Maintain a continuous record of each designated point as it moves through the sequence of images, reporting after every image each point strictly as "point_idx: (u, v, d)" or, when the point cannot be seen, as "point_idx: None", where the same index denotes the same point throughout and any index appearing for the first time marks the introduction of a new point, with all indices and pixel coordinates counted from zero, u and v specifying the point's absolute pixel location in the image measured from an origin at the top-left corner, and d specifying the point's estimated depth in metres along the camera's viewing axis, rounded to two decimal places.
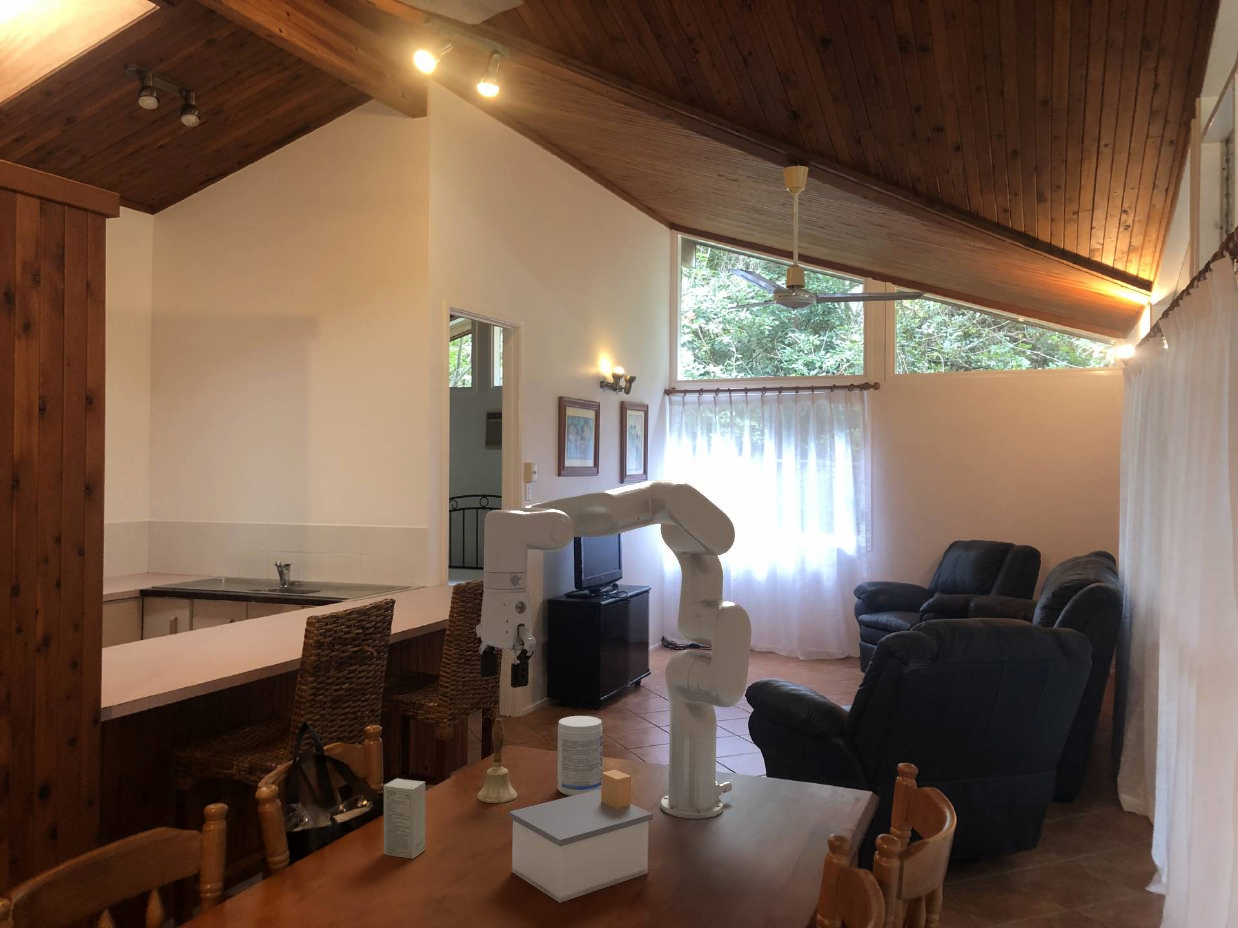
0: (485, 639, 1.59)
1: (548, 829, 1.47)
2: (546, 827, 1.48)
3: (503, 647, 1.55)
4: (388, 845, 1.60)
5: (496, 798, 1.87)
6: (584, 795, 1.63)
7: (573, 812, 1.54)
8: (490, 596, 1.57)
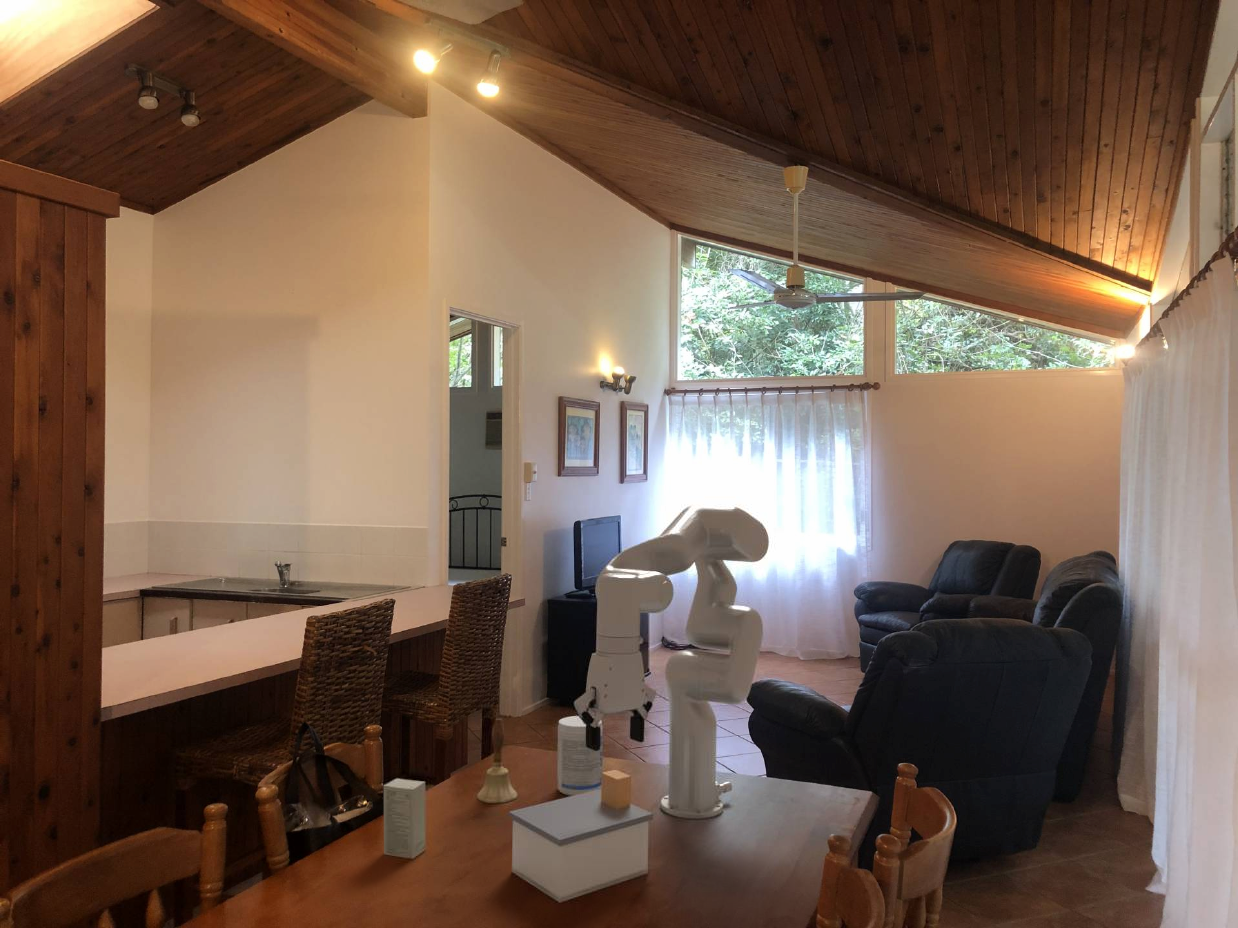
0: (610, 708, 1.56)
1: (548, 829, 1.47)
2: (546, 827, 1.48)
3: (635, 707, 1.59)
4: (388, 845, 1.60)
5: (496, 798, 1.87)
6: (584, 795, 1.63)
7: (573, 812, 1.54)
8: (623, 662, 1.57)
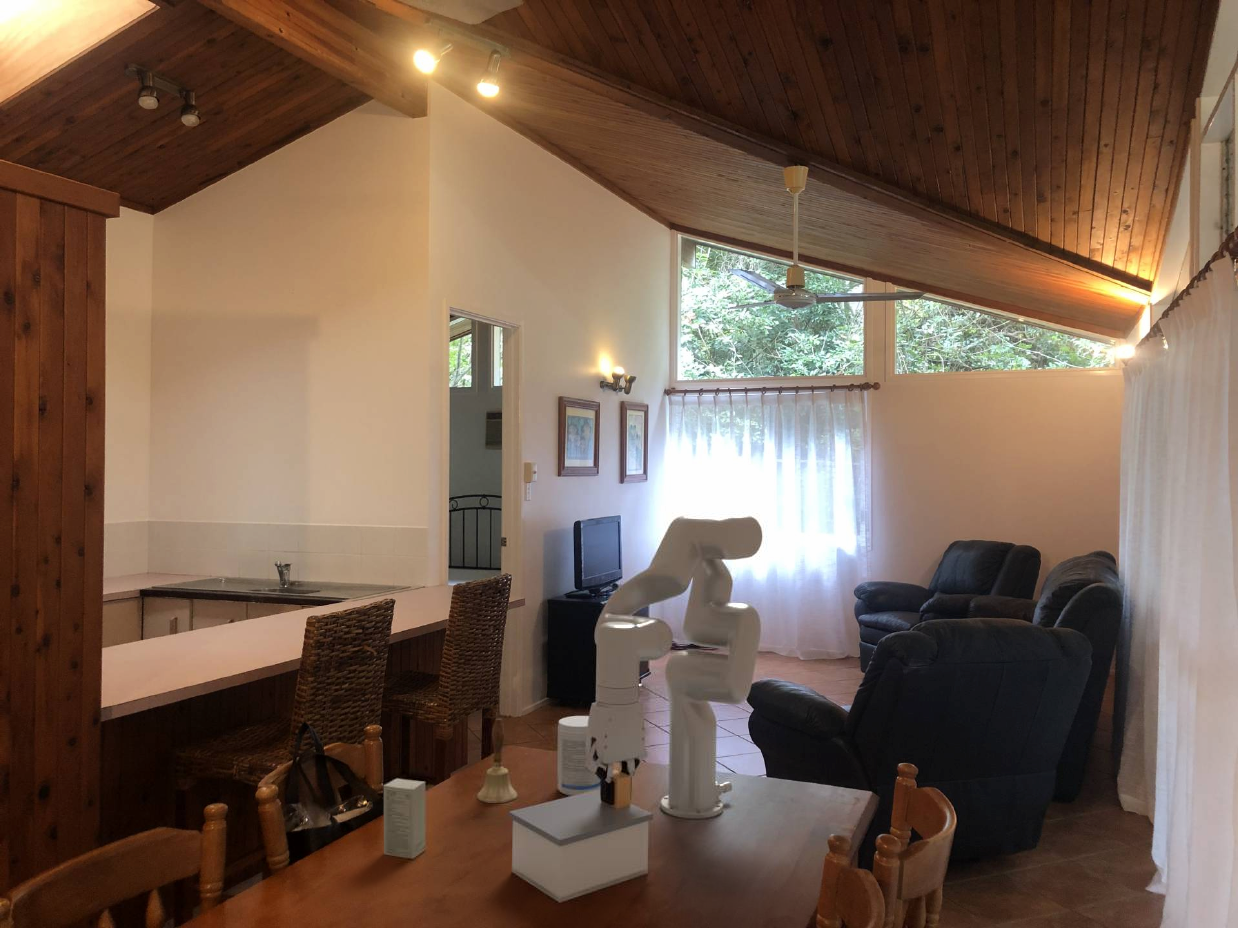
0: (611, 758, 1.56)
1: (548, 829, 1.47)
2: (546, 827, 1.48)
3: (635, 756, 1.59)
4: (388, 845, 1.60)
5: (496, 798, 1.87)
6: (584, 795, 1.63)
7: (573, 812, 1.54)
8: (623, 712, 1.57)
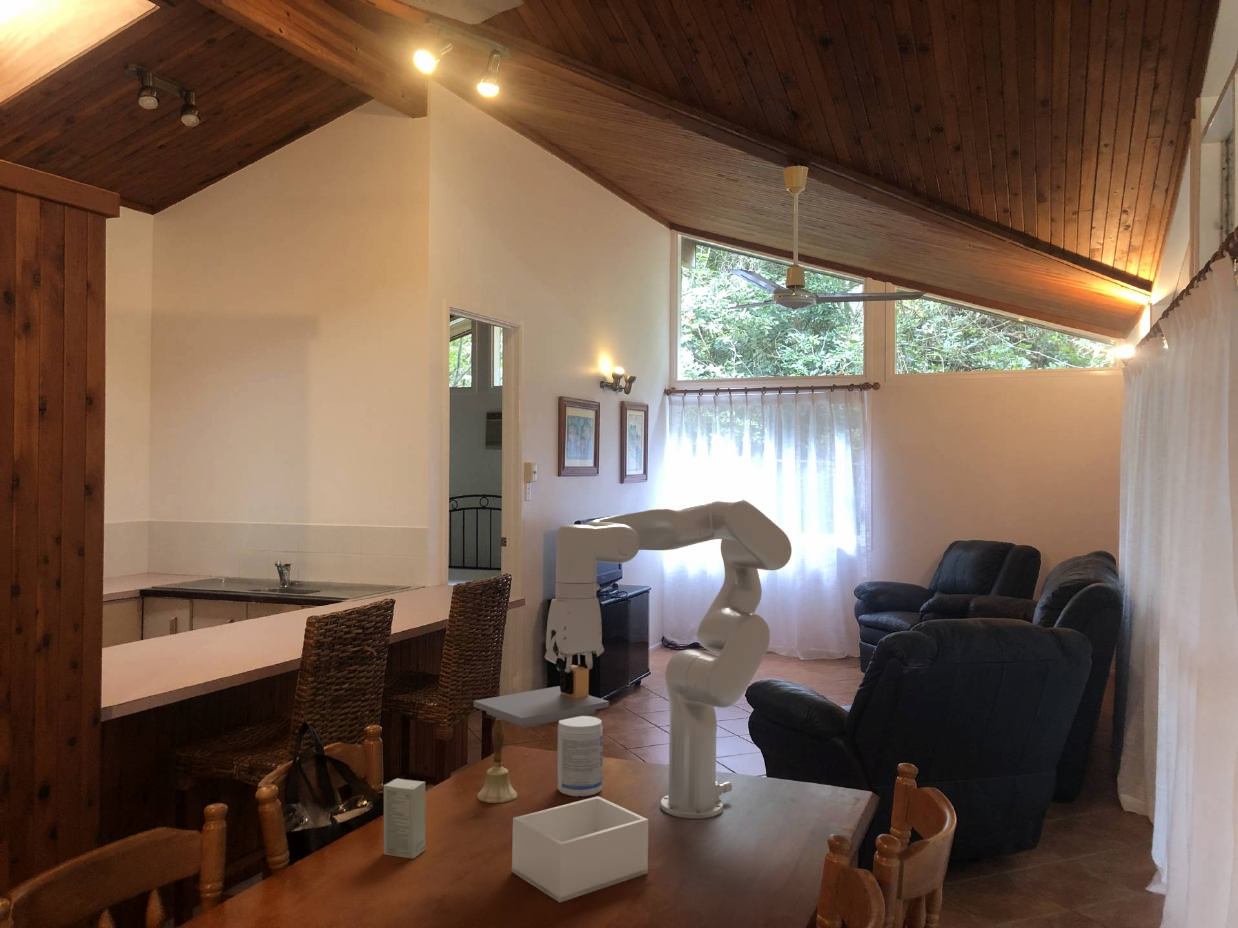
0: (570, 649, 1.66)
1: (511, 711, 1.57)
2: (509, 710, 1.57)
3: (593, 649, 1.70)
4: (388, 845, 1.60)
5: (496, 798, 1.87)
6: (545, 690, 1.73)
7: (535, 701, 1.64)
8: (581, 607, 1.67)
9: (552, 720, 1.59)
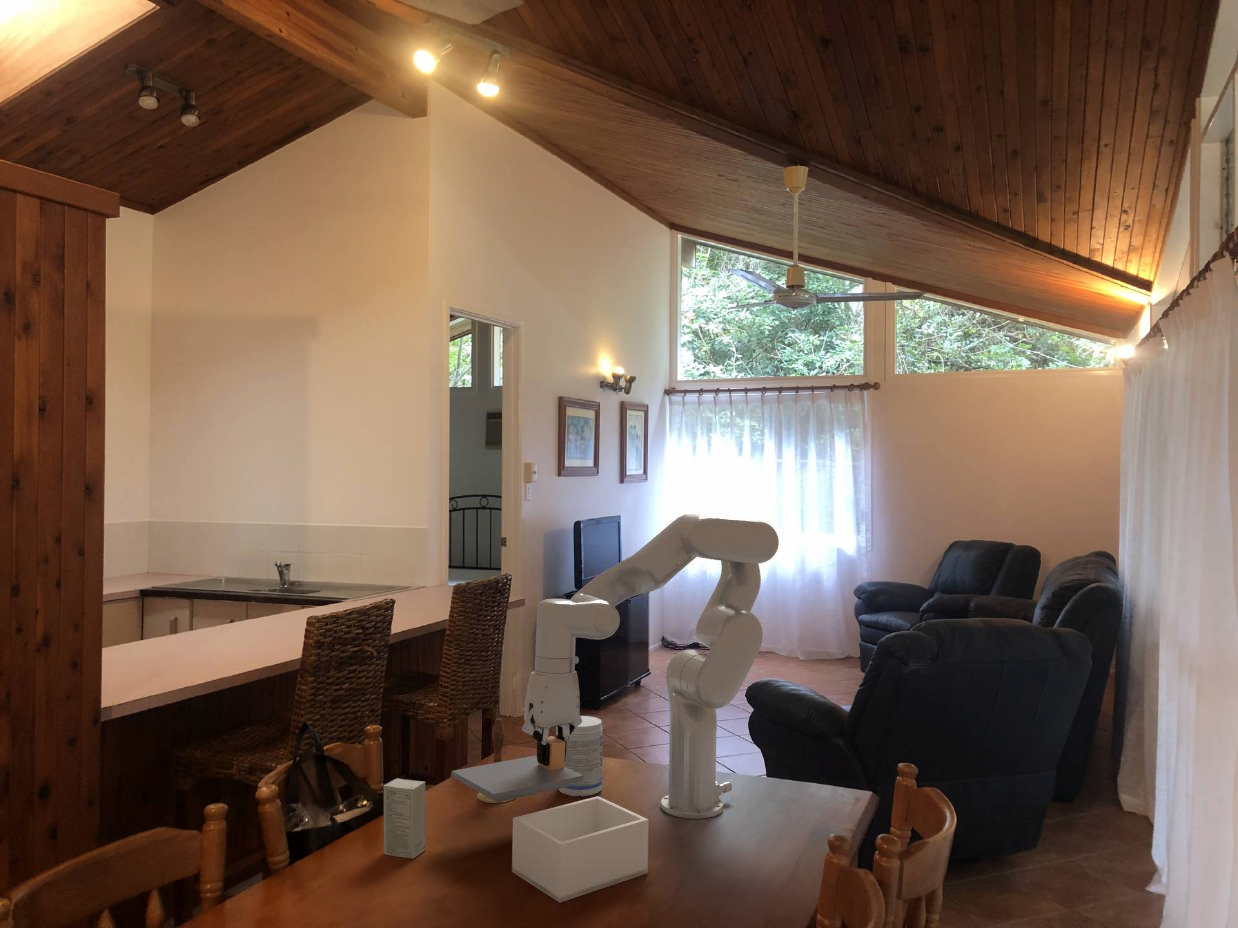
0: (546, 722, 1.71)
1: (485, 785, 1.62)
2: (483, 784, 1.62)
3: (570, 721, 1.74)
4: (388, 845, 1.60)
5: None
6: (524, 759, 1.78)
7: (510, 773, 1.69)
8: (558, 681, 1.72)
9: (525, 794, 1.63)
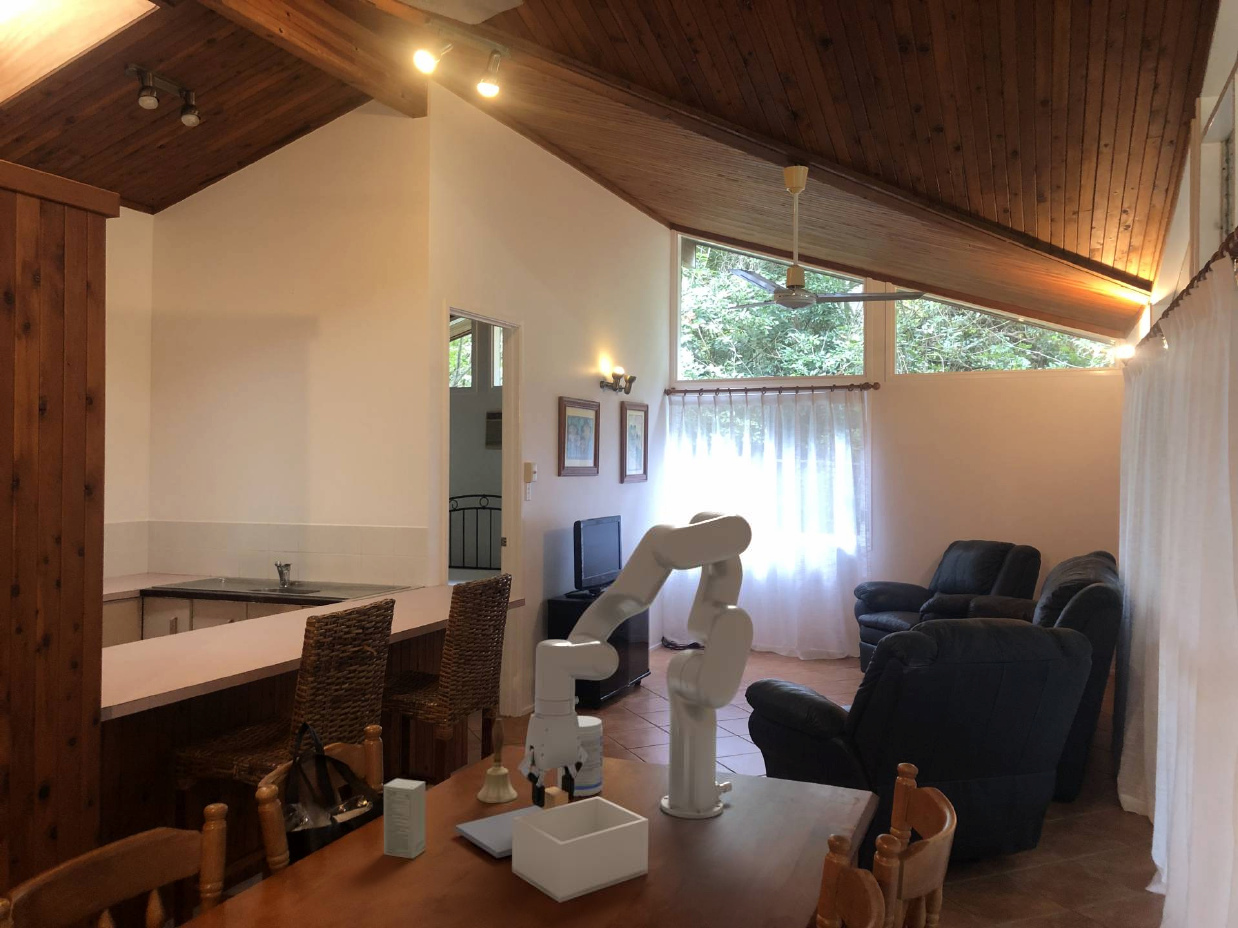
0: (547, 765, 1.71)
1: (488, 842, 1.62)
2: (487, 840, 1.63)
3: (571, 763, 1.74)
4: (388, 845, 1.60)
5: (496, 798, 1.87)
6: (527, 809, 1.78)
7: None
8: (558, 723, 1.72)
9: None
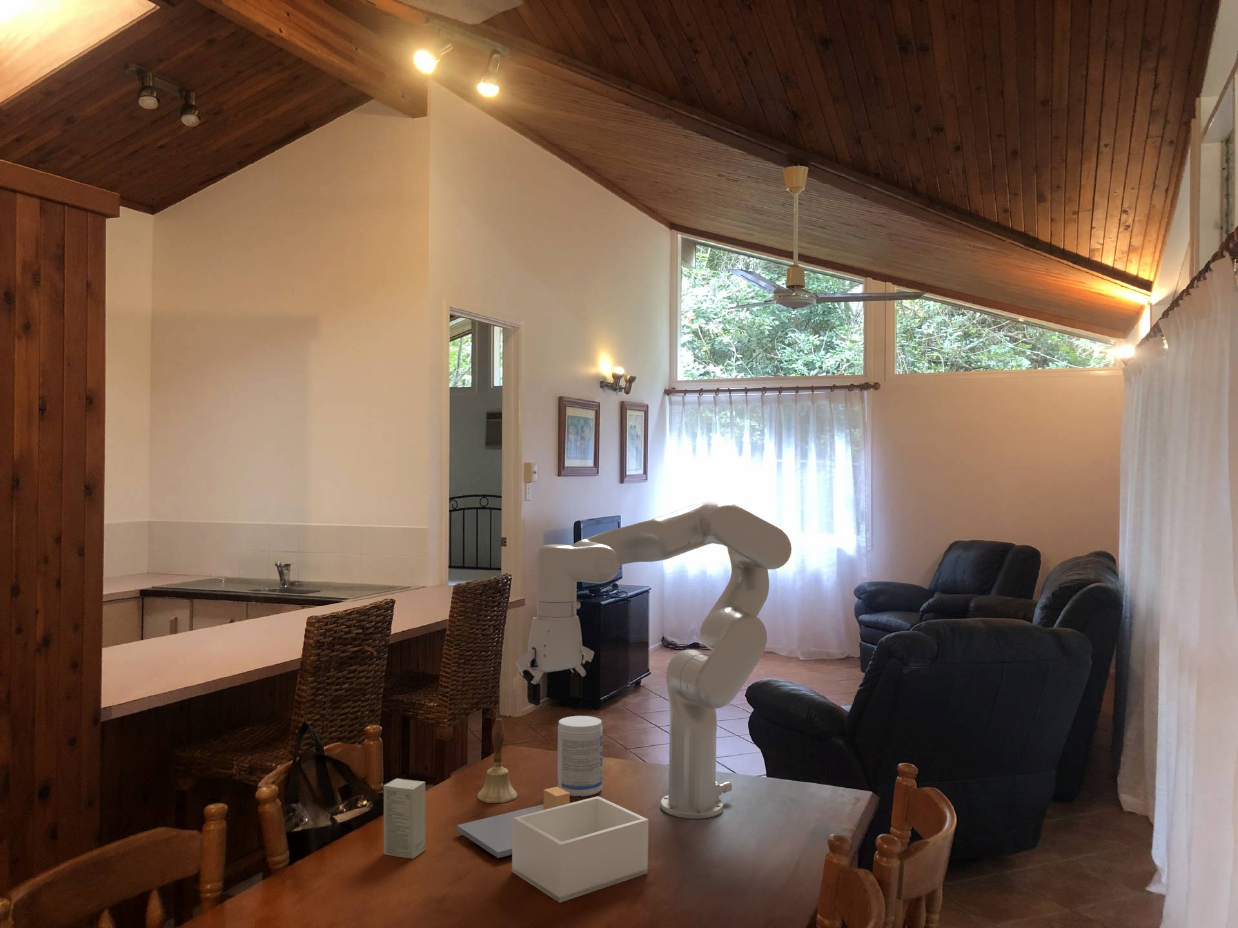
0: (549, 666, 1.71)
1: (489, 842, 1.62)
2: (488, 840, 1.63)
3: (573, 666, 1.75)
4: (388, 845, 1.60)
5: (496, 798, 1.87)
6: (529, 809, 1.78)
7: None
8: (560, 625, 1.72)
9: None
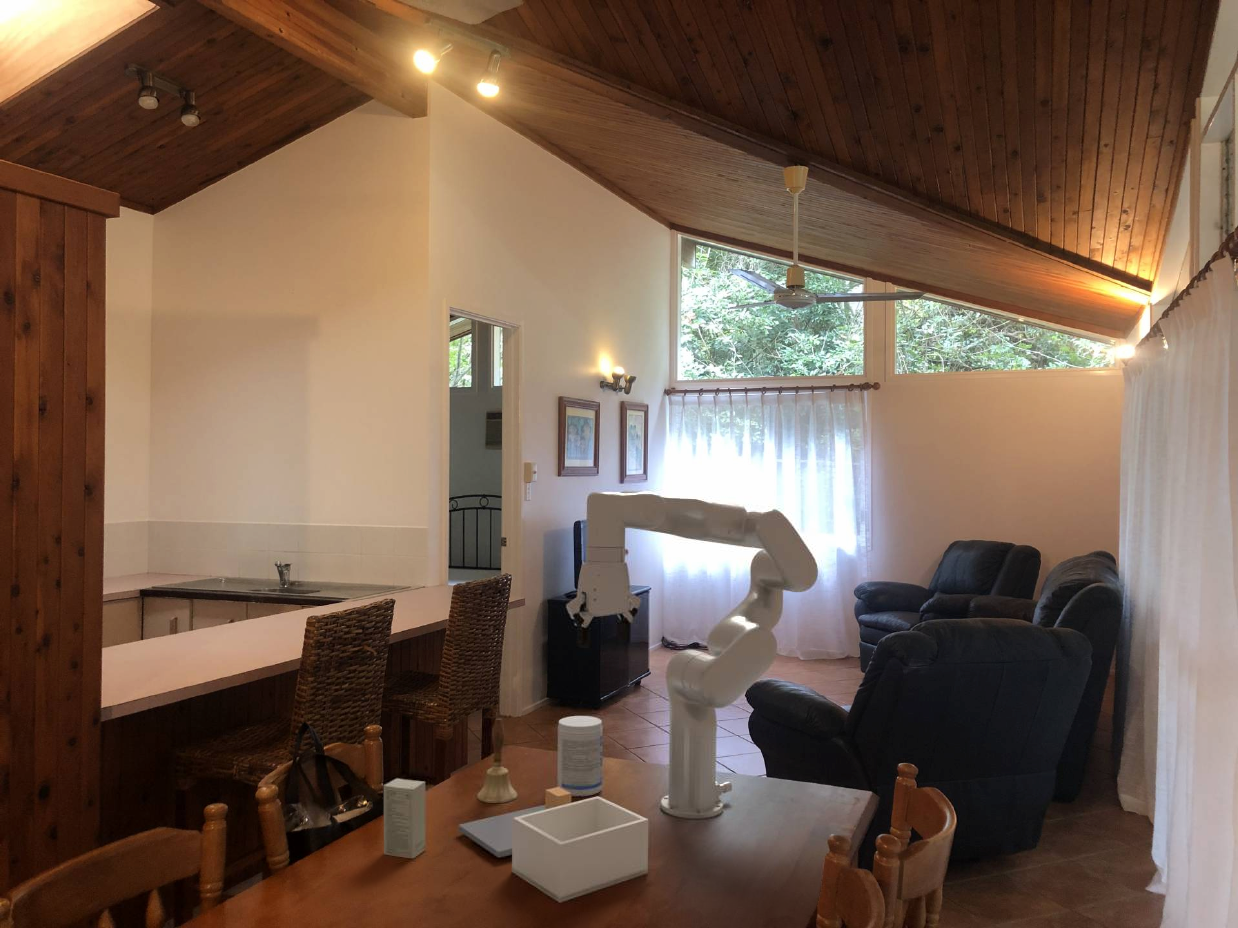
0: (599, 611, 1.73)
1: (490, 841, 1.62)
2: (489, 839, 1.63)
3: (622, 611, 1.77)
4: (388, 845, 1.60)
5: (496, 798, 1.87)
6: (531, 810, 1.78)
7: None
8: (610, 570, 1.74)
9: None
